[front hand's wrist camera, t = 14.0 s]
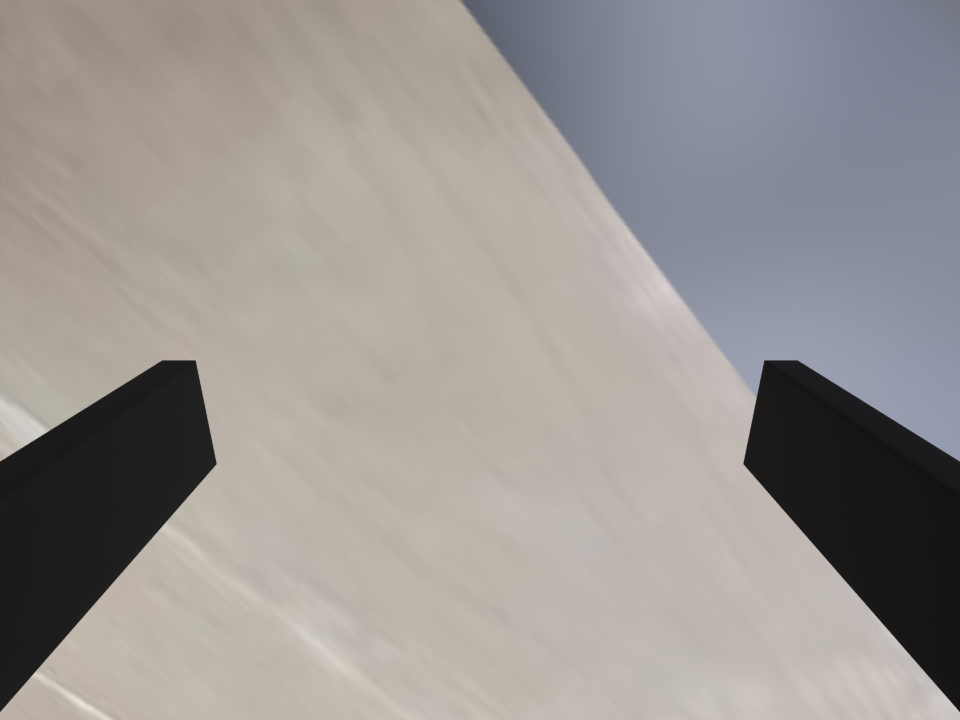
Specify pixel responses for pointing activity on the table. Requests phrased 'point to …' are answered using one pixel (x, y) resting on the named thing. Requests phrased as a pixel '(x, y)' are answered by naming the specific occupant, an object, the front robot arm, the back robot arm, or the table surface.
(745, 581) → the table surface
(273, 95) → the table surface
